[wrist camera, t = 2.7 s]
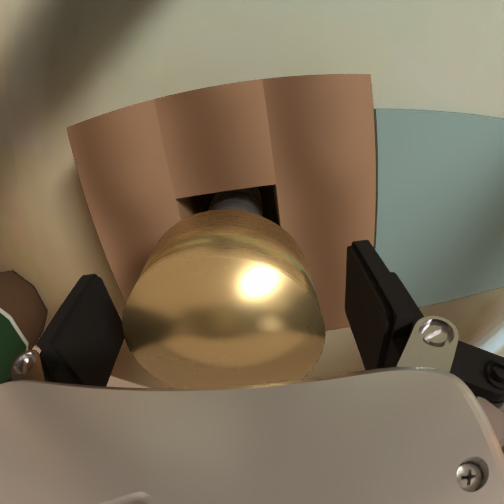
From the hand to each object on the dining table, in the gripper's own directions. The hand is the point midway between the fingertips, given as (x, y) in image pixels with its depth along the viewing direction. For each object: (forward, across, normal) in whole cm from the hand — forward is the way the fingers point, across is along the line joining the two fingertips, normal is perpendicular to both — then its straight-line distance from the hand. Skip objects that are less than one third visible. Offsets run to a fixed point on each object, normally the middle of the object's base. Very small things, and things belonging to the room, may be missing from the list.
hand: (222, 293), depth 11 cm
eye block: (+9, 0, 0) cm, 9 cm away
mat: (+9, -17, +3) cm, 20 cm away
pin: (+9, 0, 0) cm, 9 cm away
